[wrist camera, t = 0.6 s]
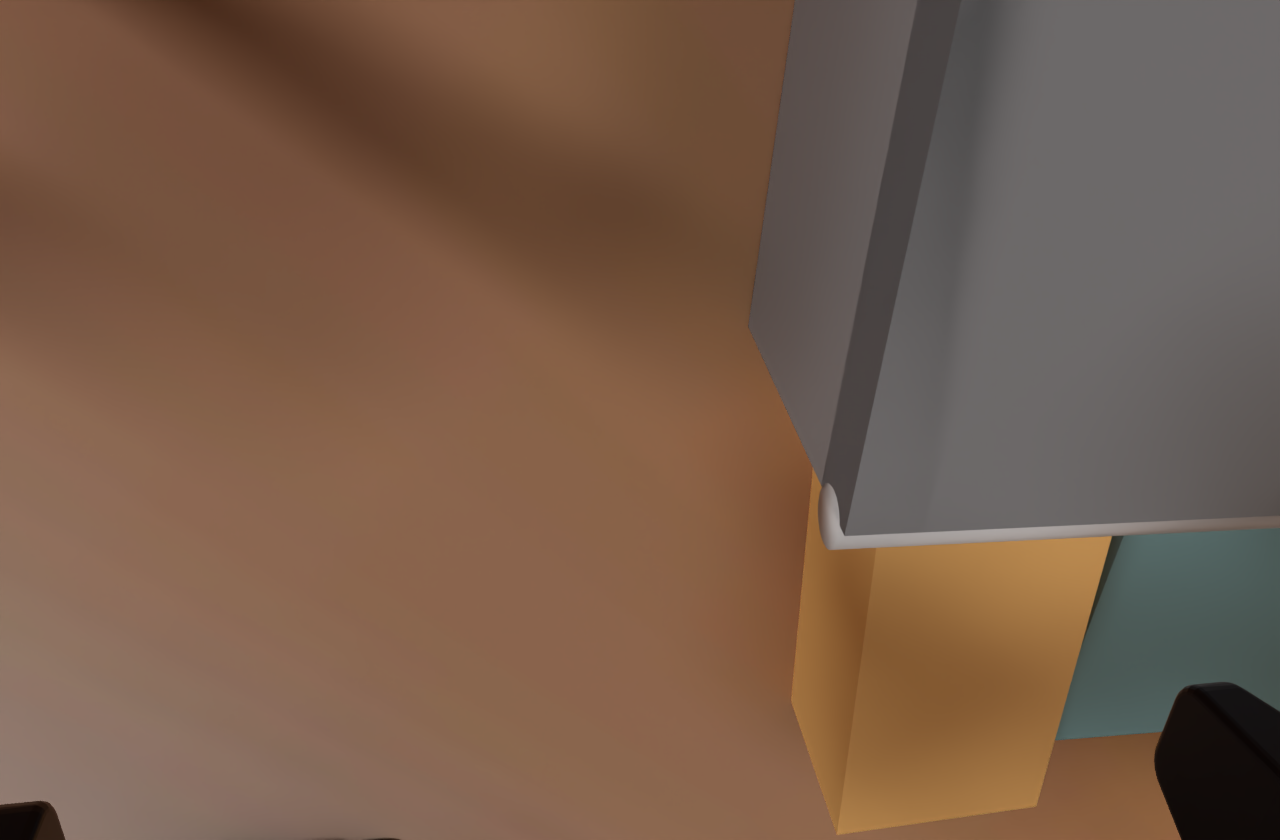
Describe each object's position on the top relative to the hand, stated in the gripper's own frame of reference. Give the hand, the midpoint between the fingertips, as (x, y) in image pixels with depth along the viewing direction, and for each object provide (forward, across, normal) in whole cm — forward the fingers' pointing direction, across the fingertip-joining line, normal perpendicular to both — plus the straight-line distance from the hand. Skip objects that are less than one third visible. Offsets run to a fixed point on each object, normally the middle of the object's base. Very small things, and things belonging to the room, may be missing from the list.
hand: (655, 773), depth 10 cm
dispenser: (+12, -8, -2) cm, 15 cm away
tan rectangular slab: (+13, -8, +7) cm, 17 cm away
